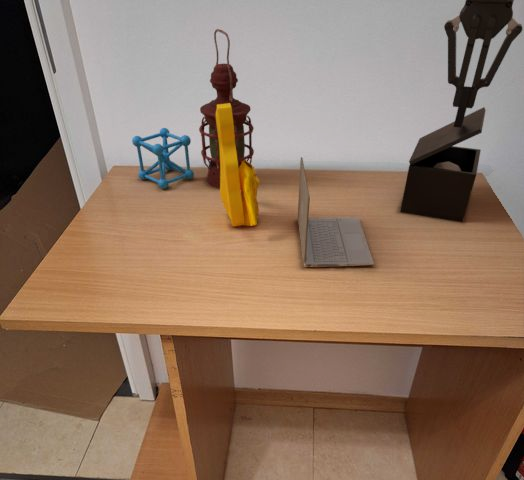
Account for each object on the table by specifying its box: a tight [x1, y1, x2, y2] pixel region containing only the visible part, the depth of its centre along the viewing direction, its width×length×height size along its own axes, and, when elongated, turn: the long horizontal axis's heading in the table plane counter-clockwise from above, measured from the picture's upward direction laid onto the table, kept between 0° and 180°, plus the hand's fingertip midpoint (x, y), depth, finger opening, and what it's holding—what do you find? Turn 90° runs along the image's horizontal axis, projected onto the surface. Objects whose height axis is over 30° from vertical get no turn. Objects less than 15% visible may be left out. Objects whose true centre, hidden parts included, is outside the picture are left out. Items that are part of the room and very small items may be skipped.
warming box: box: [399, 145, 481, 223], centre depth 102 cm, size 13×15×10 cm
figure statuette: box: [216, 103, 261, 227], centre depth 92 cm, size 18×8×22 cm, turn 8°
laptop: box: [297, 156, 375, 268], centre depth 88 cm, size 18×13×13 cm
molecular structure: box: [131, 127, 195, 190], centre depth 112 cm, size 10×10×10 cm
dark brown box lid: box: [408, 106, 486, 165], centre depth 96 cm, size 13×15×1 cm
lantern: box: [198, 28, 255, 189], centre depth 105 cm, size 12×12×30 cm
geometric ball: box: [433, 161, 461, 171], centre depth 102 cm, size 8×8×8 cm
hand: (458, 125), depth 94 cm, fingers closed
